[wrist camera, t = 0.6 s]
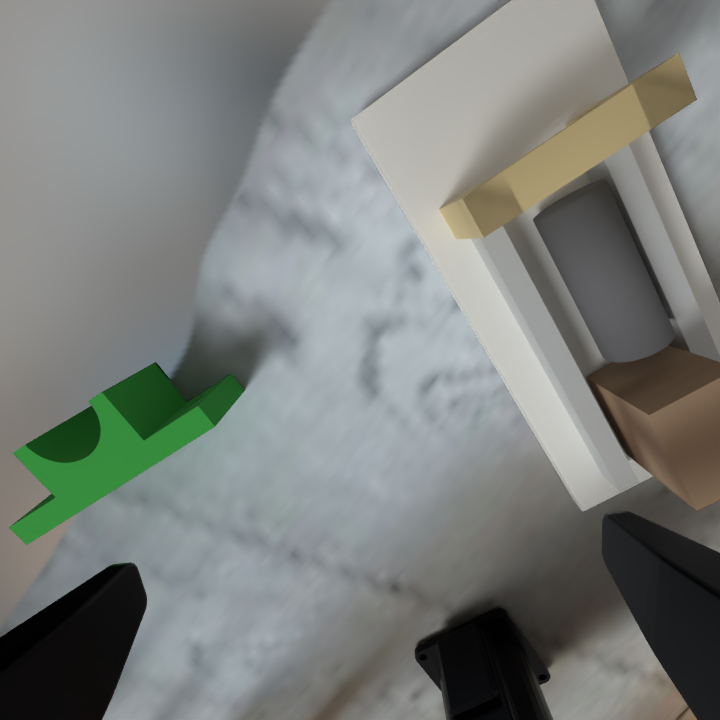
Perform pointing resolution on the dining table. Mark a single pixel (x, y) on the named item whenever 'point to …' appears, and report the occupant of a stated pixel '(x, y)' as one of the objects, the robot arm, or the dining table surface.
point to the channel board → (542, 207)
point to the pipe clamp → (115, 442)
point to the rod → (605, 273)
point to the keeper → (667, 418)
